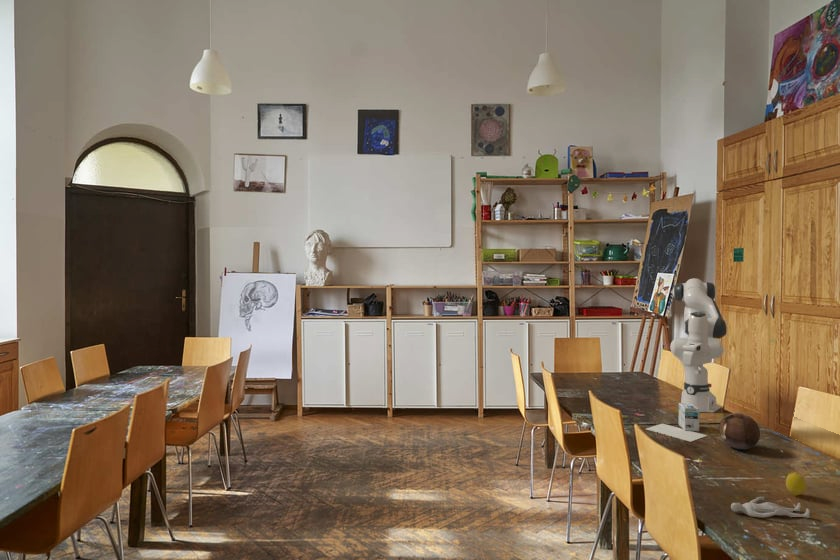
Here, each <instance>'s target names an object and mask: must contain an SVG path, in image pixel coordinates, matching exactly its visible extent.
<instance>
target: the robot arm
mask: <svg viewBox="0 0 840 560" xmlns="http://www.w3.org/2000/svg"><path fill="white" fill-rule="evenodd" d="M671 293H672V296H673V298H674V300H675V301H676V302H684V304H685V305H684V310H683V311H684V312H683V324H684V326H683V327H684V333H685V334H686V335H688V337H677V338H674V339H673V340H672V341H671V343H670V346H669V349H670V351H671V353H672V355H673V356H675V357H676V358H677V359H678V360H679V361H680V362H681V364H682V366H683V369H684V370H683V371H684V382H683V389H684V390H682V392H681V398H680V399H681V400H680V403H683V404H693V405H694V406H695V407H697V408H698V409H700V413H715V412H717V411H718V410H720V409H722V405H720V404H717V397H716V396H715V394H714V393H712V392H711V391H710V390H711V389H710V388H712V383H709V380H708V379H709V378H708V377H709V375H708V369H707V367H705V366H704V365H705V364H710V363H712V361H713V360H714V359H719V358H721V357H722V356H723V354H724V351H725V350H724V345H723V343H722V342H721V341H720V340H721V339H723V337H725V336H726V335H727V332H728V327H727V323H726V320H724V318H723V316H722V314H721V311H720V309H719V307H718V304H717V303H716V300H714V299H716V296H717V287H716V286H715V284H714V283H713V282H709V281H708V282H704V281H702V280H701V279H699V278H697V277H696V278H689V279H688V280H687V281H685V283H684V282H683V283H682V282H679V283H676V284H675V285H674V286H673V288H672V292H671ZM706 313H707V314H709V315H710V317H709V318H708V315H707V314H706ZM718 339H719V340H718Z"/></svg>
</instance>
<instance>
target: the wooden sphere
mask: <svg viewBox="0 0 840 560" xmlns="http://www.w3.org/2000/svg"><path fill="white" fill-rule="evenodd" d="M718 431H719V435H720V438H721V439H722V440H723V441H724V443H726V445H728V446H730V447H731V448H733V449H737V450H748V449H751V448H753V447H755V446H756V445H757V444H758V442H760V439H761V438H760V437H761V430H760V427H759V425H758V424H757V422H756V421H755V420H754V419H753V418H752V417H751V416H749V415H747V414H745V413H744V414H743V413H741V412H734V413H730V414H727V415H726V416H724V417H723V418H722V419H721V420H720V423H719V426H718Z"/></svg>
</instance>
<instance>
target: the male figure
mask: <svg viewBox="0 0 840 560" xmlns="http://www.w3.org/2000/svg"><path fill="white" fill-rule="evenodd" d="M758 501H765V496H757V497H756V498H755V499H752V500H750V501H749V502H745V503H740V502H732V503H731V504H730V508H731V510H732V511H733V512H738V511H739V512H741V513H743V514H744V515H747V516H749V517H754V518H755V517H756V518H769V517H772V516H787V517H789V518H792V517H807V518H809V519H810V518H811V517H810V516H811V515H810V509H809V508H806V510H805V512H804V513H803V514H800V513H797V512H793V511H800V512H801V507H802V504H801V503H800V502H797V503H796V506H795V507H794V508H792V507H791V508H789V507H785V506H781V505H779V504H777V503H773V502H768V501H767V502H766V501H765V502H762V503H757V502H758ZM807 518H806V519H807Z"/></svg>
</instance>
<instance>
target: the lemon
mask: <svg viewBox="0 0 840 560" xmlns="http://www.w3.org/2000/svg"><path fill="white" fill-rule="evenodd" d="M785 487H786V489H787V490H788V492H789V493H791V494H792V495H793V496H795V497H796V496H800V495H803V494H804V493H805V491H806V487H807V484H806V481H805V479H804V477H803V476H802V475H801V474H799V473H798V472H791V473H789V474H788V475H787V476H786V479H785Z"/></svg>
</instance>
